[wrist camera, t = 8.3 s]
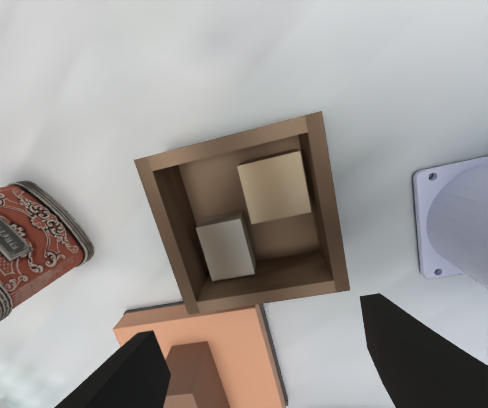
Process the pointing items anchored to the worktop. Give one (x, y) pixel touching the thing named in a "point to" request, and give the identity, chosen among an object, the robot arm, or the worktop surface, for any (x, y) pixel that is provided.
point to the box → (249, 216)
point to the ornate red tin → (35, 243)
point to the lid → (211, 356)
